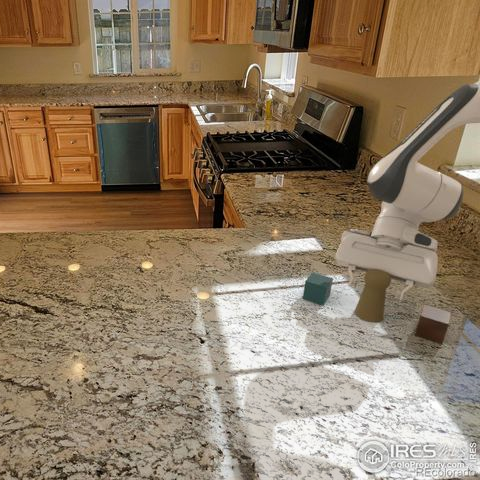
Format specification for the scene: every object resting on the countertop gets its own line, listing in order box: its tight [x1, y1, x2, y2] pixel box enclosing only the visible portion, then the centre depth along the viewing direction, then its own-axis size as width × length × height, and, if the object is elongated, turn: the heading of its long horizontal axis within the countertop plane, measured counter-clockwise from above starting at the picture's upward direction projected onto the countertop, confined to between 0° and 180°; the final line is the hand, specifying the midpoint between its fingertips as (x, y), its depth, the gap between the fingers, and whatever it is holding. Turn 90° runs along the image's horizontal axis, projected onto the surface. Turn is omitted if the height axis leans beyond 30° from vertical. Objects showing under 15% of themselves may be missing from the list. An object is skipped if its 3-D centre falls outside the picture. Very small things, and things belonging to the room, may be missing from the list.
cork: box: [354, 269, 392, 323], centre depth 94 cm, size 6×6×11 cm
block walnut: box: [414, 304, 452, 345], centre depth 89 cm, size 5×5×5 cm
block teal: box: [302, 272, 334, 306], centre depth 102 cm, size 5×5×5 cm
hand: (374, 293), depth 93 cm, fingers open, 8 cm apart
